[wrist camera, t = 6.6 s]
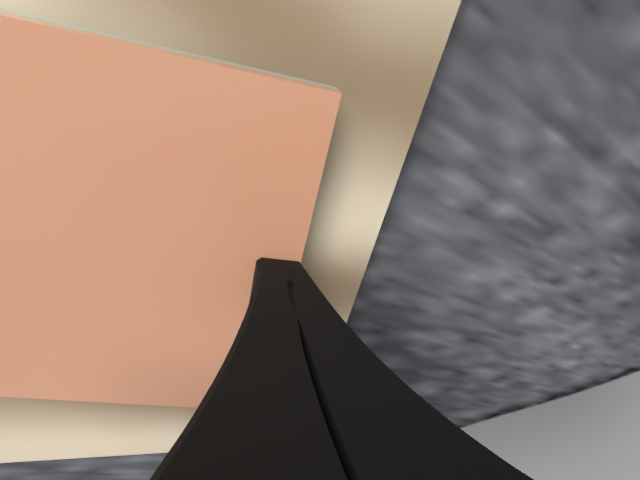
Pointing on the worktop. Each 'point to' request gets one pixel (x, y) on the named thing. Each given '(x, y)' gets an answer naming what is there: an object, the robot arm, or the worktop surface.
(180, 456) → the robot arm
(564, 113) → the worktop surface
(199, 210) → the tile
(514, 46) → the worktop surface
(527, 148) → the worktop surface
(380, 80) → the board
